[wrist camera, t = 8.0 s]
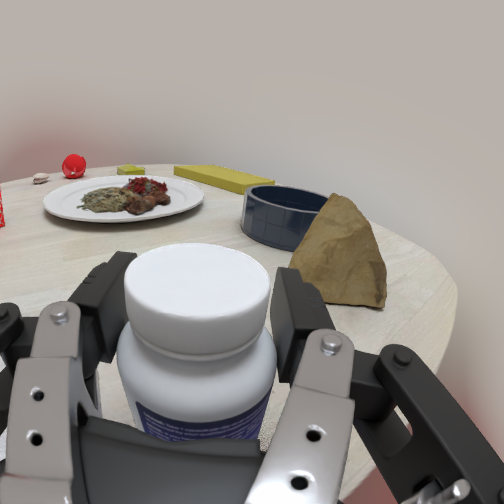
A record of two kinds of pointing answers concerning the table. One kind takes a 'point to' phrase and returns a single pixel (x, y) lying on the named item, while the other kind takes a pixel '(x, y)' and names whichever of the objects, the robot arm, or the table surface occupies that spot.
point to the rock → (342, 256)
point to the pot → (279, 214)
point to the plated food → (122, 198)
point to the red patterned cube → (1, 213)
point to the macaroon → (40, 177)
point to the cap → (74, 166)
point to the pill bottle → (197, 343)
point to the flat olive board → (221, 177)
